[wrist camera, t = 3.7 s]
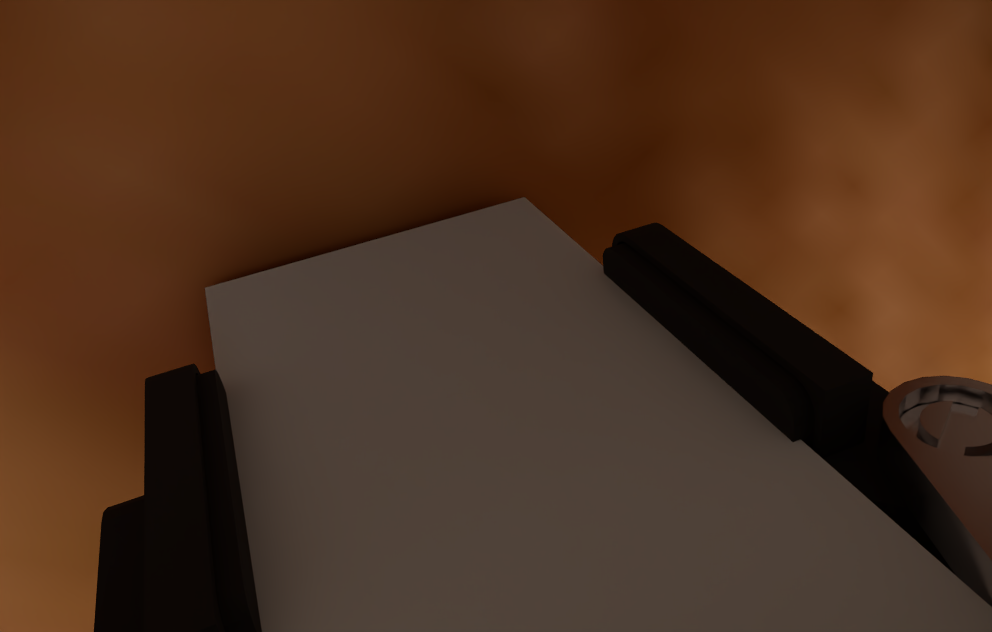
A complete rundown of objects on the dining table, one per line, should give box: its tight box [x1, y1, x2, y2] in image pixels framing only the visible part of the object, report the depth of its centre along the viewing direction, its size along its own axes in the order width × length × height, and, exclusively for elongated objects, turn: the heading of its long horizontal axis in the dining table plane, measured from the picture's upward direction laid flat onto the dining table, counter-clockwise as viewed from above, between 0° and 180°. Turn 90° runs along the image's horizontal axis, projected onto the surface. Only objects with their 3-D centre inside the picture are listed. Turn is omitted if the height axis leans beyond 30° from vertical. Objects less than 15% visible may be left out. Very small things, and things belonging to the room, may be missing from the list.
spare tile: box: [205, 197, 992, 632], centre depth 9 cm, size 2×5×10 cm, turn 99°
